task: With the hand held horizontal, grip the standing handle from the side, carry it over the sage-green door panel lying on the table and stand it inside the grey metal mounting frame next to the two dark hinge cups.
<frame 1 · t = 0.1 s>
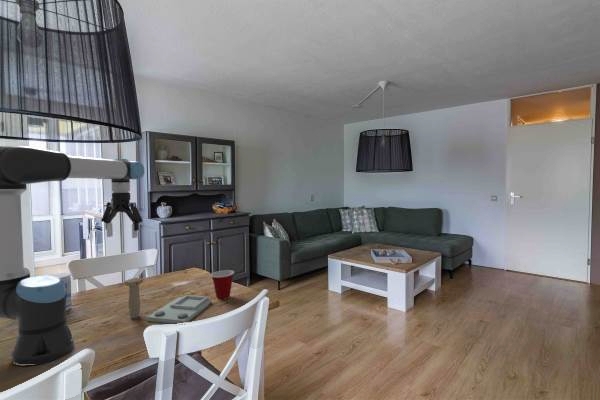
hand: (122, 237, 148), 28 cm above the table, tool pointing down, fingers open, 13 cm apart
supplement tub: (57, 310, 132), on the table
plastic cup: (222, 298, 147), on the table
door panel: (181, 311, 132), on the table
handle: (134, 317, 126), on the table
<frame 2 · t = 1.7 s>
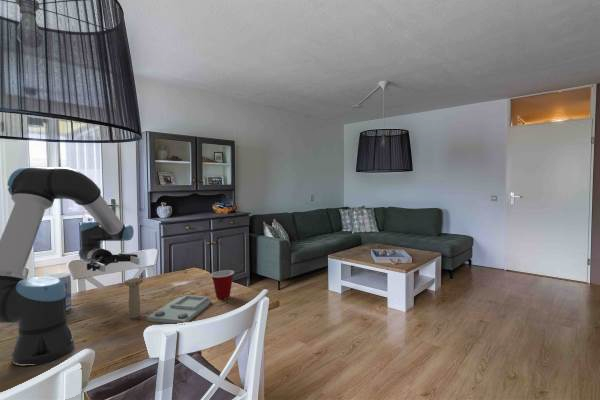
hand: (122, 264, 131), 20 cm above the table, tool horizontal, fingers open, 13 cm apart
nothing on the table moved.
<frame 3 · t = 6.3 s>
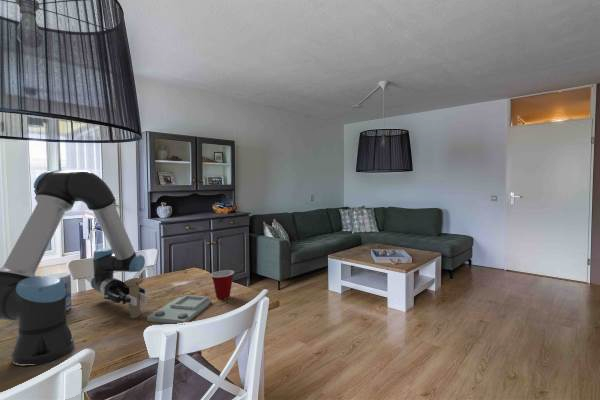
hand: (141, 300, 122), 8 cm above the table, tool horizontal, fingers closed on handle, 3 cm apart
handle: (134, 317, 126), on the table, touching gripper
everything else where it was.
when the fingers open (10 cm above the table, at t = 10.7 s): handle stays where it is, resting on door panel.
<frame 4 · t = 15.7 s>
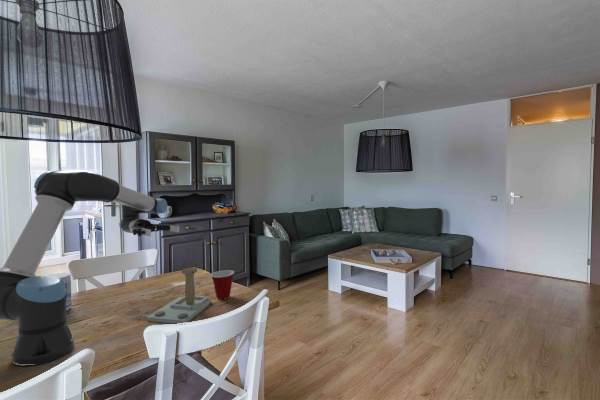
hand: (164, 231, 141), 32 cm above the table, tool horizontal, fingers open, 13 cm apart
handle: (190, 303, 136), point 1 cm above the table, touching door panel
everything else where it was.
at the end: handle inside the target area on the door panel (0.1 cm from its centre), point 1.3 cm above the door panel's base; handle tilted 0°; the gripper is holding nothing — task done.
